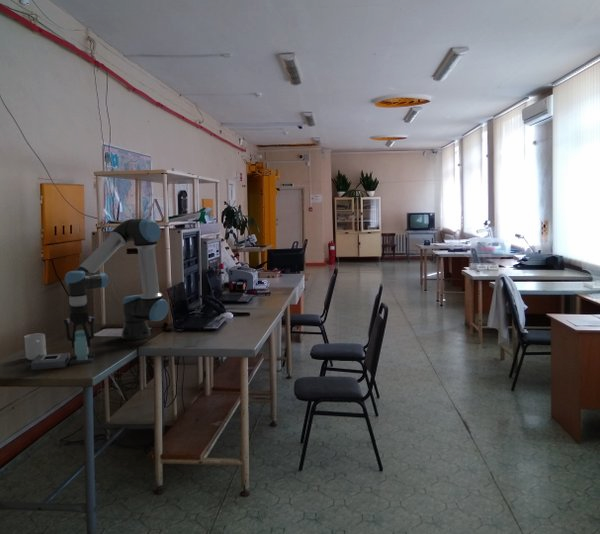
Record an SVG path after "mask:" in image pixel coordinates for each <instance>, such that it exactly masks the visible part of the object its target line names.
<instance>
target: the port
mask: <svg viewBox="0 0 600 534" xmlns="http://www.w3.org/2000/svg"><path fill="white" fill-rule="evenodd" d="M69 361H71V352H59V353H48V354H47V353H46V355H38V356H37V357H36V358H35V359H34V360H31V362H30V370H31V371H35V370H36V371H37V370H50V369H59V368H60V369H61V368H66V367H67V365H68V364H69Z"/></svg>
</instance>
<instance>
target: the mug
mask: <svg viewBox="0 0 600 534" xmlns="http://www.w3.org/2000/svg"><path fill="white" fill-rule="evenodd" d="M23 338H24V349H25V358H26V359H27V360H29V361H33V360H34V359H35V358H36V357H37V356H38V355H46V354H47V346H46V345H47V343H46V334H45V333H42V332H39V333H38V332H36V333H30V334H27V335H24V337H23Z"/></svg>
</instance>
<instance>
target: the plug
mask: <svg viewBox="0 0 600 534" xmlns="http://www.w3.org/2000/svg"><path fill="white" fill-rule="evenodd" d="M75 340H76V353H77V355H76V356H77V360H87V359H88V356H87V355H88V354H87V355H86V346H85V340H86V335H85V331H84V329H78V330H76V332H75Z"/></svg>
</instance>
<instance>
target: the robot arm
mask: <svg viewBox="0 0 600 534" xmlns="http://www.w3.org/2000/svg"><path fill="white" fill-rule="evenodd" d="M161 233H162V231H161V227H160V225H159V223H158V222H157V221H156V220H154V219H150V218H129V219H126V220H124V221H123V222H121V223H119V224H118V225H117V226H115V227H114V228H113V230H111V231H110V232H109V236H108V237H107V238H106V239H105V240H104V241H103V242H102V243H101V245H99V246H98V247H97V248H96V249H95V250H94V251H93V252H92V253H91V254H90V255H89V256H88V257H87V258H86V259H85V260H84V261H83V262H82V263H81V264H80V265H79V266H78V267H77V268H76V269H75V270H71V271H68V272H66V274H65V276H64V282H65V284H66V285H67V287H68V299H69V300H68V303H69V305H70V306H69V313H70V315H69V317H67V318H64V320H63V322H64V324H65V331H66V332H65V333H66V340H67V341H71V347H72V349H74V356H77V353H76V339H75V332H76V330H77V329H78V326H79V325H80V326H81V325H82V328H83V329H82V330H84V331H85V335H86V340H85V346H86V355H89V352H90V351H89V347H91V340H92V339H94V337H95V325H94V324H95V323H94V322H95V319H96V317H95V316H90V314H89V312H88V298H87V297H88V295H87V294H88V293H87V291H90V290H96V289H103V288H106V287H107V286H108V284H109V276H108V274H107V273H106V272H103V271H99V270H100V268H101V267H102V266H103V265H104V264H106V262H107V261H108V260H109V259H111V257H112V256H114V254H115V253H116V252H117V251H118V250H119V248H121V247H124V246H125V245H127V244H128V243H129V242H133V245H134V248H136V249H137V254H138V265H139V272H140V282H141V283H140V284H141V288H142V289H141V290H142V291H141V292H142V293H141V294H134V295H128V296H125V297H123V299H122V309H123V321H124V323H123V328H122V331H121V339H122V340H125V341H137V340H144V339H147V338H149V337H151V330H150V327H149V325H148V322H147V321H152V322H160V321H162V320H163V319H165V318H166V316H167V315H168V313H169V307H170V306H169V303H168V301H167V300H166V299H164V295H163V293H162V292H160V285H159V276H158V266H157V257H156V248H155V247H156V246H157V245H158V241H159V239H160V238H161V236H162V235H161ZM97 271H98V272H97ZM70 321H71V322H72V323H73V327H72V335H71V329H70V328H71V327H70V323H71V322H70ZM88 321H89V322H90V324H89V326H90V332H89V329H88V325H87V322H88Z"/></svg>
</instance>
